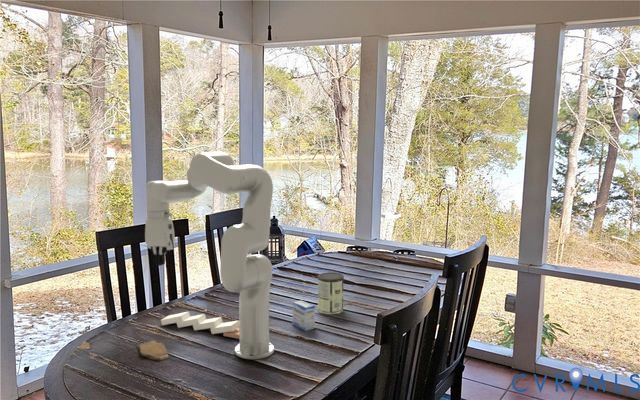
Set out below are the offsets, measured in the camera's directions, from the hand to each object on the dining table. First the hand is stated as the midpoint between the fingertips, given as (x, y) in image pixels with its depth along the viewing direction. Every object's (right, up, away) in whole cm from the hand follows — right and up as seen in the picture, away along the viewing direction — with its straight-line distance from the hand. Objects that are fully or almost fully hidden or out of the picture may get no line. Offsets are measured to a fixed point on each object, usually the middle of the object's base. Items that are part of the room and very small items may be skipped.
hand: (160, 264), depth 187 cm
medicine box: (+52, -23, 0) cm, 57 cm away
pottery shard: (+5, -26, -23) cm, 35 cm away
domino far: (+1, -21, +1) cm, 21 cm away
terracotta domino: (+26, -23, -7) cm, 35 cm away
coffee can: (+62, -21, +18) cm, 68 cm away
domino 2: (+14, -22, -3) cm, 26 cm away
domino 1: (+8, -21, -1) cm, 23 cm away
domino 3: (+21, -22, -6) cm, 31 cm away
